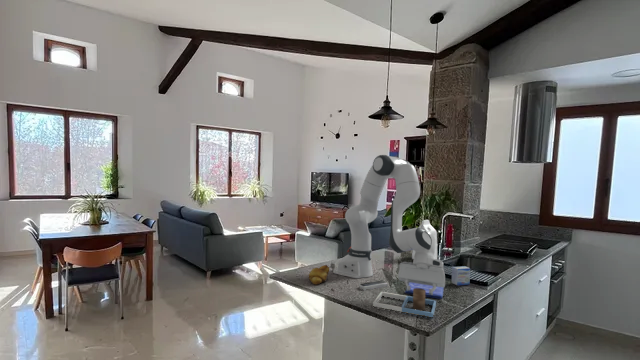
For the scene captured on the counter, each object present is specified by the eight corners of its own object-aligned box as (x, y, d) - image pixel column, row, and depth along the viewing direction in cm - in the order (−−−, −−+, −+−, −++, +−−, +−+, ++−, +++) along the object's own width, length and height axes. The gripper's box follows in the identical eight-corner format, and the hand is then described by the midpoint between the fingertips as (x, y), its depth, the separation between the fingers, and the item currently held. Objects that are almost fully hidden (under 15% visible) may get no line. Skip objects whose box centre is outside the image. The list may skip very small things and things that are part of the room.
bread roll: (321, 287, 168) (321, 271, 168) (303, 284, 172) (304, 268, 171) (330, 279, 180) (330, 264, 180) (313, 276, 184) (313, 262, 183)
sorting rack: (372, 307, 144) (373, 302, 144) (380, 295, 158) (381, 291, 158) (432, 318, 135) (432, 313, 135) (435, 305, 148) (436, 300, 148)
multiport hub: (358, 288, 168) (358, 283, 168) (382, 284, 175) (382, 280, 174) (363, 291, 164) (363, 286, 164) (387, 287, 171) (387, 282, 171)
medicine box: (456, 285, 174) (457, 269, 173) (451, 282, 178) (451, 266, 178) (469, 284, 176) (470, 268, 176) (464, 281, 180) (464, 265, 180)
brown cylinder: (411, 309, 143) (412, 291, 142) (413, 305, 147) (414, 287, 147) (424, 312, 141) (424, 293, 140) (425, 307, 145) (426, 289, 145)
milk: (422, 255, 233) (423, 218, 232) (437, 259, 224) (438, 220, 223) (411, 258, 225) (412, 219, 224) (427, 262, 217) (428, 222, 216)
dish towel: (404, 294, 161) (404, 289, 161) (410, 280, 183) (410, 274, 183) (442, 300, 155) (442, 294, 154) (444, 284, 177) (444, 279, 176)
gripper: (399, 257, 157) (394, 284, 148) (446, 263, 149) (443, 292, 140) (400, 264, 161) (396, 291, 152) (446, 270, 153) (444, 299, 144)
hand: (419, 292), depth 146 cm, fingers open, 8 cm apart
